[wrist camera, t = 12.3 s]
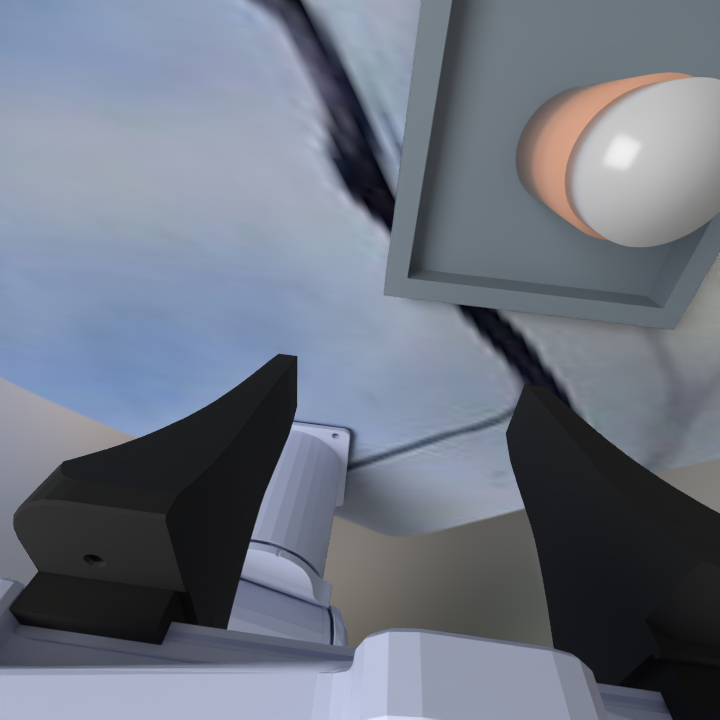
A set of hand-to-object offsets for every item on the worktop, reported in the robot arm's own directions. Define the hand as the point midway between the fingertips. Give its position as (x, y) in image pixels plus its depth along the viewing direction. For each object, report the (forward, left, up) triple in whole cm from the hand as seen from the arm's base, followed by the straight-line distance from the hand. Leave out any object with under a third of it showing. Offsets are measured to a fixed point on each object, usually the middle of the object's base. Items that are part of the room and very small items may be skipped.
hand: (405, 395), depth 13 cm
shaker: (+6, +7, -9) cm, 13 cm away
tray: (+6, +7, -10) cm, 14 cm away
